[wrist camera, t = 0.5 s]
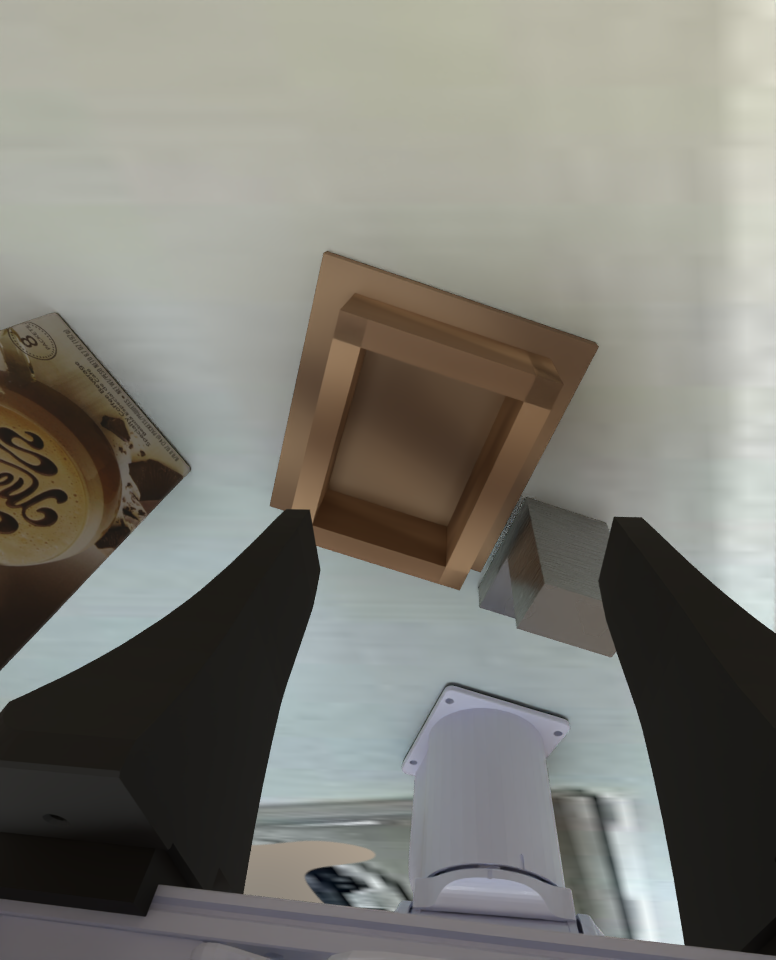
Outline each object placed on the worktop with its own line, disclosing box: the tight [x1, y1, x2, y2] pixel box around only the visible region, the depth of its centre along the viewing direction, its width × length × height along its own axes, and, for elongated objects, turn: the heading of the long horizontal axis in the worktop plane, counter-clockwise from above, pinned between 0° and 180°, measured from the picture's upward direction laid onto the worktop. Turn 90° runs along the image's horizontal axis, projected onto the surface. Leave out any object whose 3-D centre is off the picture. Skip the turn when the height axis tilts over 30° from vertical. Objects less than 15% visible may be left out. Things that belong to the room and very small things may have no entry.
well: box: [270, 251, 599, 590], centre depth 21 cm, size 12×11×4 cm
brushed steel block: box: [478, 497, 616, 657], centre depth 23 cm, size 6×4×6 cm, turn 163°
